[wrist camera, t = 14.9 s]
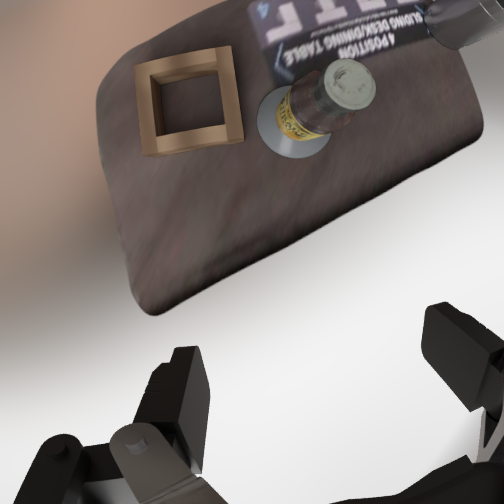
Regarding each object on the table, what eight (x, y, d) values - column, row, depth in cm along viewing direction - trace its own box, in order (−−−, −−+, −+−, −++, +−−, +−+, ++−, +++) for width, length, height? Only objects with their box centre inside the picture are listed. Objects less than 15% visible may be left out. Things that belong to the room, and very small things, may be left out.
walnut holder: (232, 59, 35) (230, 45, 30) (243, 142, 38) (244, 137, 33) (145, 76, 35) (134, 65, 30) (154, 157, 38) (143, 155, 33)
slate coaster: (325, 85, 36) (326, 83, 36) (335, 155, 39) (337, 154, 38) (251, 90, 36) (252, 89, 36) (262, 162, 39) (262, 162, 38)
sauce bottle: (267, 105, 37) (288, 47, 17) (311, 91, 36) (365, 31, 17) (285, 151, 38) (325, 131, 19) (329, 136, 38) (400, 109, 18)
